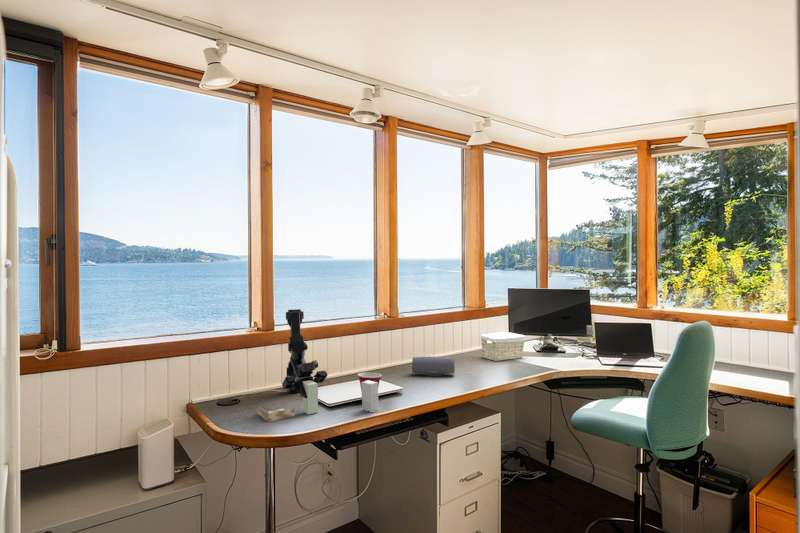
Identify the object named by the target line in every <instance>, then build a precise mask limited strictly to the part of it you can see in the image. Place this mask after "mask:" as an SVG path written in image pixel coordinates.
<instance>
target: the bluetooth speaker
mask: <svg viewBox="0 0 800 533" xmlns="http://www.w3.org/2000/svg"><path fill="white" fill-rule="evenodd" d="M411 362H412V365H411V371H412V372H411V373H414V374H421V375H424V376H427V375H428V376H429V377H430V376H432V377H434V376H437V377H443V376H444V375H445V374H446V375H450V374H455V368H456V367H455V357H451V356H414V357H412V361H411Z"/></svg>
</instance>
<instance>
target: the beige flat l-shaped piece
mask: <svg viewBox="0 0 800 533" xmlns="http://www.w3.org/2000/svg"><path fill="white" fill-rule="evenodd" d="M257 415H258V416H259V417H261V418H263V419H264V420H265V421H267V422H273V421H278V420H282V419H287V418H291V417H295V408H294V407H292V408H287V409H285V408H280V409H275V410H270V411H268V410H266V409H264V407H263V408H262V406H258V407H257Z"/></svg>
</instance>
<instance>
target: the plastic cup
mask: <svg viewBox="0 0 800 533" xmlns="http://www.w3.org/2000/svg"><path fill="white" fill-rule="evenodd" d="M357 376H358V379H359V383H360V384H359V385H360V390H361V392H362V386H361V382H363V381H367V380H369V381H374V382H378V387H379V384H380V380H381V377H382V374H381V373H378V372H361V373H358V374H357Z"/></svg>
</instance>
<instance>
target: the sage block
mask: <svg viewBox="0 0 800 533" xmlns="http://www.w3.org/2000/svg"><path fill="white" fill-rule="evenodd" d="M303 387H304V389H305V392H306V394H307V399H306V398H304V397H303V396H302V412H303V413H304V414H306V415H312V414H317V413H319V383H315V382H313V381H312V382H311V381H306V382H303Z"/></svg>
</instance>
